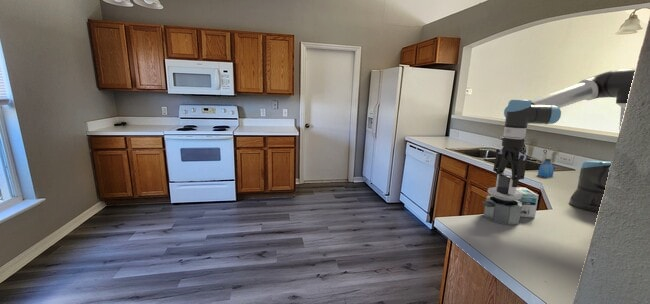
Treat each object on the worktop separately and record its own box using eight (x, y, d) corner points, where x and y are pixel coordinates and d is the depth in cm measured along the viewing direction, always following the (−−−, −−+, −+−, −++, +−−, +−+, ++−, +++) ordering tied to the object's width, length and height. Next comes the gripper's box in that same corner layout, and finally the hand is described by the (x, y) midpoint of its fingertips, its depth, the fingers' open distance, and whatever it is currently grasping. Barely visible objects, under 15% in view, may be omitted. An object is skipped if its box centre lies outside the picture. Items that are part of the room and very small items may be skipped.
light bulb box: (535, 218, 118) (539, 195, 116) (518, 216, 120) (522, 193, 118) (522, 208, 129) (526, 187, 127) (507, 207, 130) (510, 186, 128)
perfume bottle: (548, 177, 182) (551, 160, 179) (537, 175, 187) (540, 158, 185) (552, 176, 185) (555, 159, 182) (542, 174, 190) (545, 157, 188)
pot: (506, 211, 126) (509, 194, 124) (531, 223, 113) (534, 205, 112) (472, 212, 123) (474, 196, 121) (494, 226, 110) (496, 207, 109)
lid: (504, 193, 123) (508, 172, 121) (528, 203, 111) (533, 180, 109) (480, 194, 121) (483, 172, 119) (502, 204, 109) (506, 181, 107)
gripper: (488, 134, 119) (481, 184, 124) (526, 141, 101) (516, 199, 106) (503, 134, 121) (495, 184, 125) (543, 141, 102) (532, 199, 107)
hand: (504, 191), depth 115 cm, fingers closed on lid, 6 cm apart
